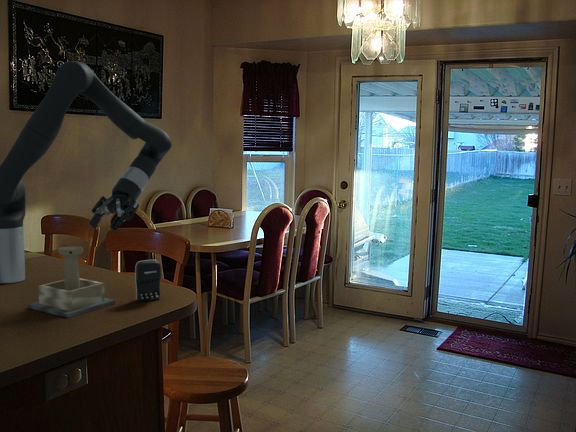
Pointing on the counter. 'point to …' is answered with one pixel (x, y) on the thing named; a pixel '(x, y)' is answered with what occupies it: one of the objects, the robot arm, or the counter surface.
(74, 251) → the handle
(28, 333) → the counter surface
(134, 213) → the robot arm
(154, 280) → the battery charger
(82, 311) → the cream grey square tray
